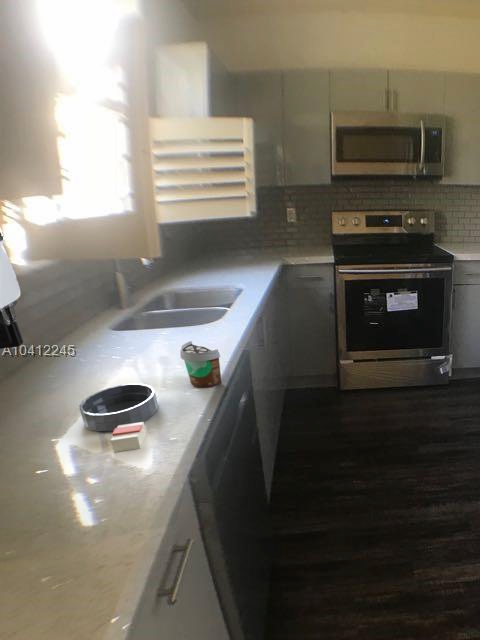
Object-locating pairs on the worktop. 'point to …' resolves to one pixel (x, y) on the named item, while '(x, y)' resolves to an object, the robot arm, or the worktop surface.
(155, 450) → the worktop surface
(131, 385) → the pan
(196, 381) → the food container
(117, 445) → the block
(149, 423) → the worktop surface
